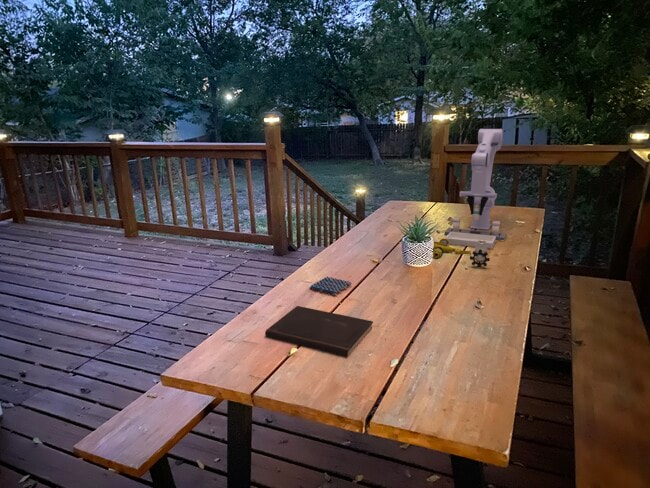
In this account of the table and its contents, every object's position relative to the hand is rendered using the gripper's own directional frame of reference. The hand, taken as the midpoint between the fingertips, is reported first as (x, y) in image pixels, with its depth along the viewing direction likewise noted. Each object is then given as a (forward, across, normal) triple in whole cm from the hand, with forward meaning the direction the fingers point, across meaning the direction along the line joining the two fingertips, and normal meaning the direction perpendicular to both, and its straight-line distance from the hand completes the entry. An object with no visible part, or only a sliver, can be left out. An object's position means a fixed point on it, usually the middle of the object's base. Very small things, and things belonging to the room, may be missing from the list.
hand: (476, 214), depth 190 cm
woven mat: (+10, -32, -74) cm, 81 cm away
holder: (+9, 0, 0) cm, 9 cm away
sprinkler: (+10, -7, -27) cm, 29 cm away
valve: (+10, +7, -32) cm, 34 cm away
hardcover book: (+10, -22, -101) cm, 104 cm away
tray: (+9, 0, -11) cm, 14 cm away
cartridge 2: (+9, +8, 0) cm, 12 cm away
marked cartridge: (+2, 0, 0) cm, 2 cm away
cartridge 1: (+9, -8, 0) cm, 12 cm away
